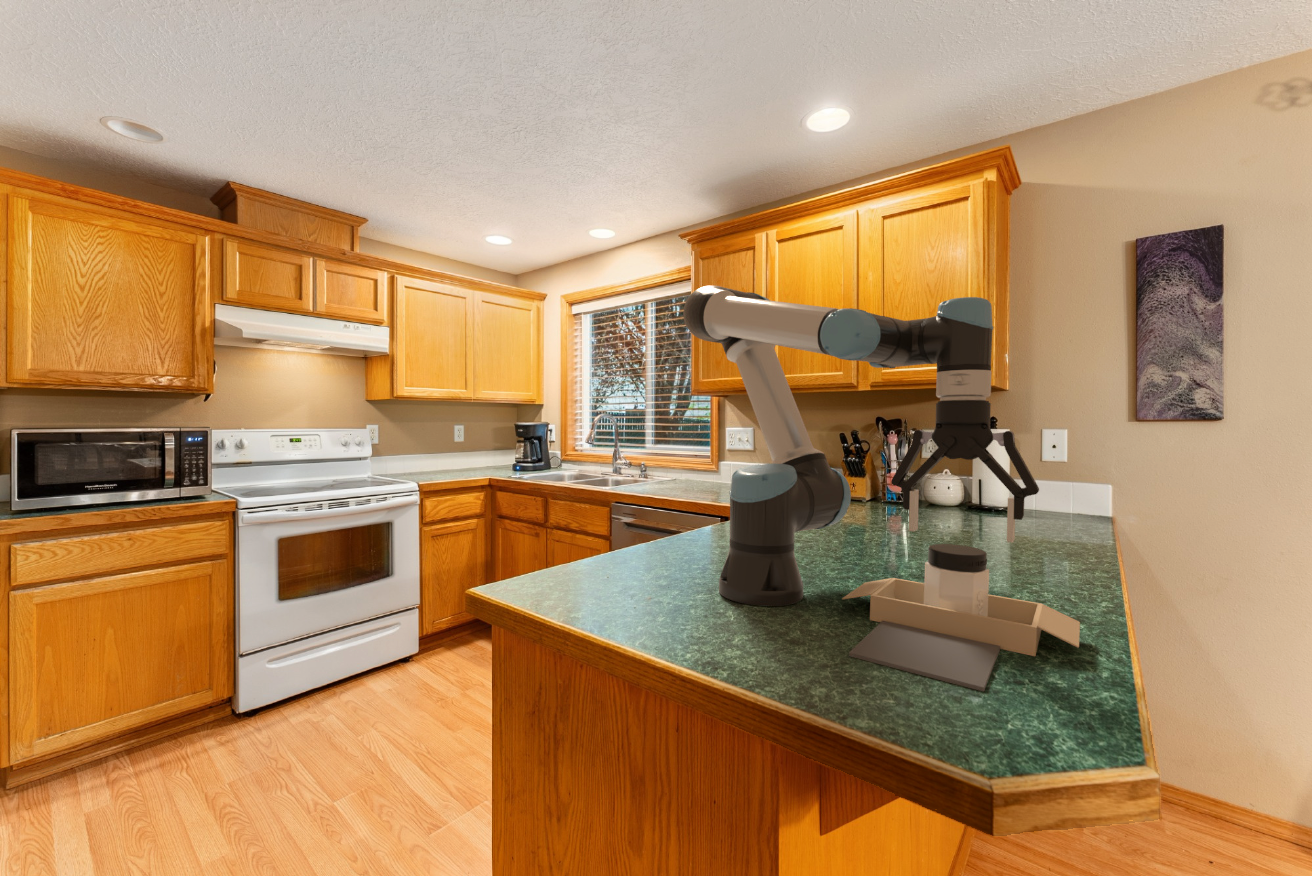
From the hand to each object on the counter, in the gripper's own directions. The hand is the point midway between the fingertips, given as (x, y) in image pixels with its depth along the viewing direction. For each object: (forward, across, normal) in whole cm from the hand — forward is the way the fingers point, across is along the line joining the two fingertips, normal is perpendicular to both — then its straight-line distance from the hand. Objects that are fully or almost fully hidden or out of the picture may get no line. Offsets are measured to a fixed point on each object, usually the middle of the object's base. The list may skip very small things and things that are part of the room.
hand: (959, 535), depth 90 cm
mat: (+14, -2, -15) cm, 21 cm away
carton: (+14, 0, 0) cm, 14 cm away
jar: (+14, 0, 0) cm, 14 cm away
